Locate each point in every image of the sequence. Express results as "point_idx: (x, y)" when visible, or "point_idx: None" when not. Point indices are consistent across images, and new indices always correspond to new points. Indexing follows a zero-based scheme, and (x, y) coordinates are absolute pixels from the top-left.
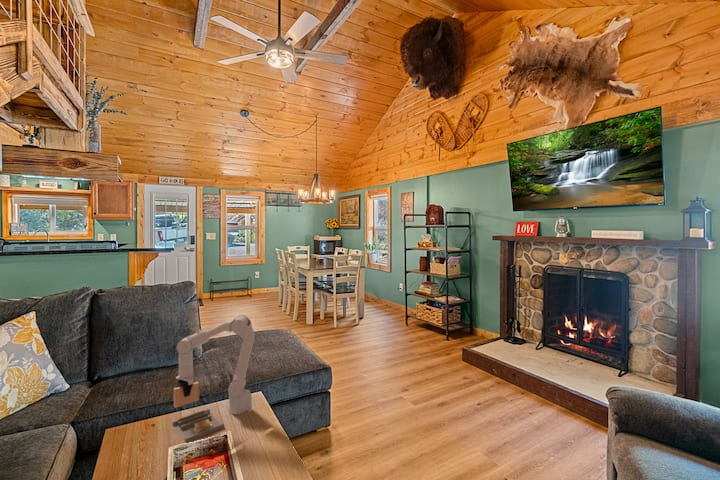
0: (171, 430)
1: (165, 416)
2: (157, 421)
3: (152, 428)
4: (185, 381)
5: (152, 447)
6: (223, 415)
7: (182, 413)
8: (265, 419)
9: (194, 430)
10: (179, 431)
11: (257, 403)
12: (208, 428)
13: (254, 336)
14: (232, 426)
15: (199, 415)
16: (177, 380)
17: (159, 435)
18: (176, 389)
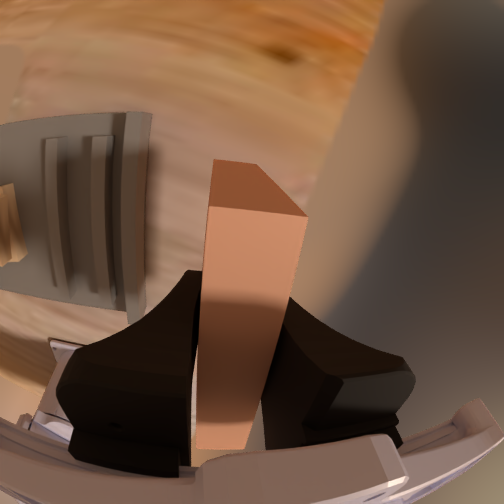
0: (129, 100)
1: (323, 139)
2: (304, 84)
3: (245, 35)
4: (139, 446)
5: (66, 8)
6: (97, 335)
7: None
8: (18, 378)
9: (2, 186)
10: (53, 125)
11: None
12: None
13: None
14: (10, 311)
15: (94, 261)
16: (390, 368)
17: (133, 40)
18: (208, 233)
